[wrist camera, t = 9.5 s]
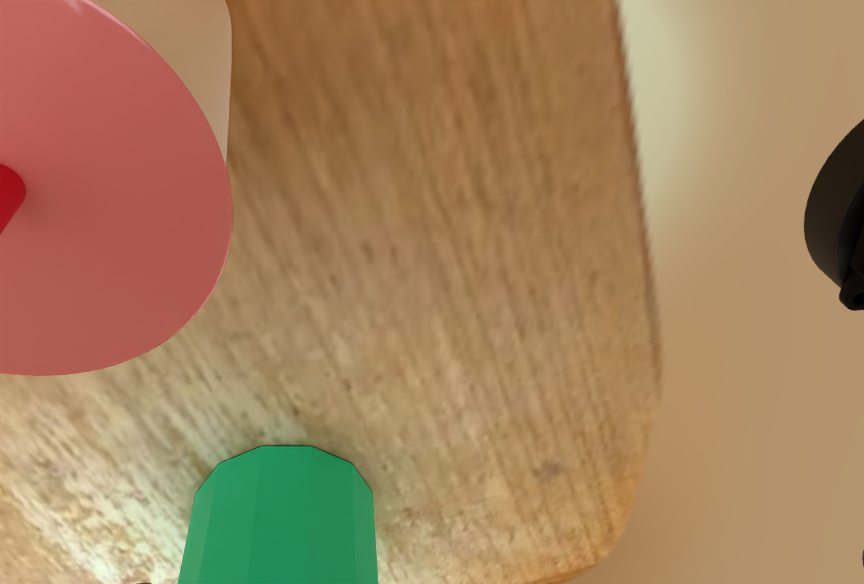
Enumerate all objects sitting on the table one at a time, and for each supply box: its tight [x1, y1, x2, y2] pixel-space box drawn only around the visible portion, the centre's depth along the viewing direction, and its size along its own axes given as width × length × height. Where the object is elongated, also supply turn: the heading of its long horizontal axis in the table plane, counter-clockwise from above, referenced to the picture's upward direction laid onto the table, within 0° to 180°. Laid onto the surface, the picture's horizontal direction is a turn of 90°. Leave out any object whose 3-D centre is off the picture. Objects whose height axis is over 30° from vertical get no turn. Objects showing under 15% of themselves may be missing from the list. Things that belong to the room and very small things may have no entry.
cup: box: [0, 0, 232, 376], centre depth 11 cm, size 5×5×12 cm
